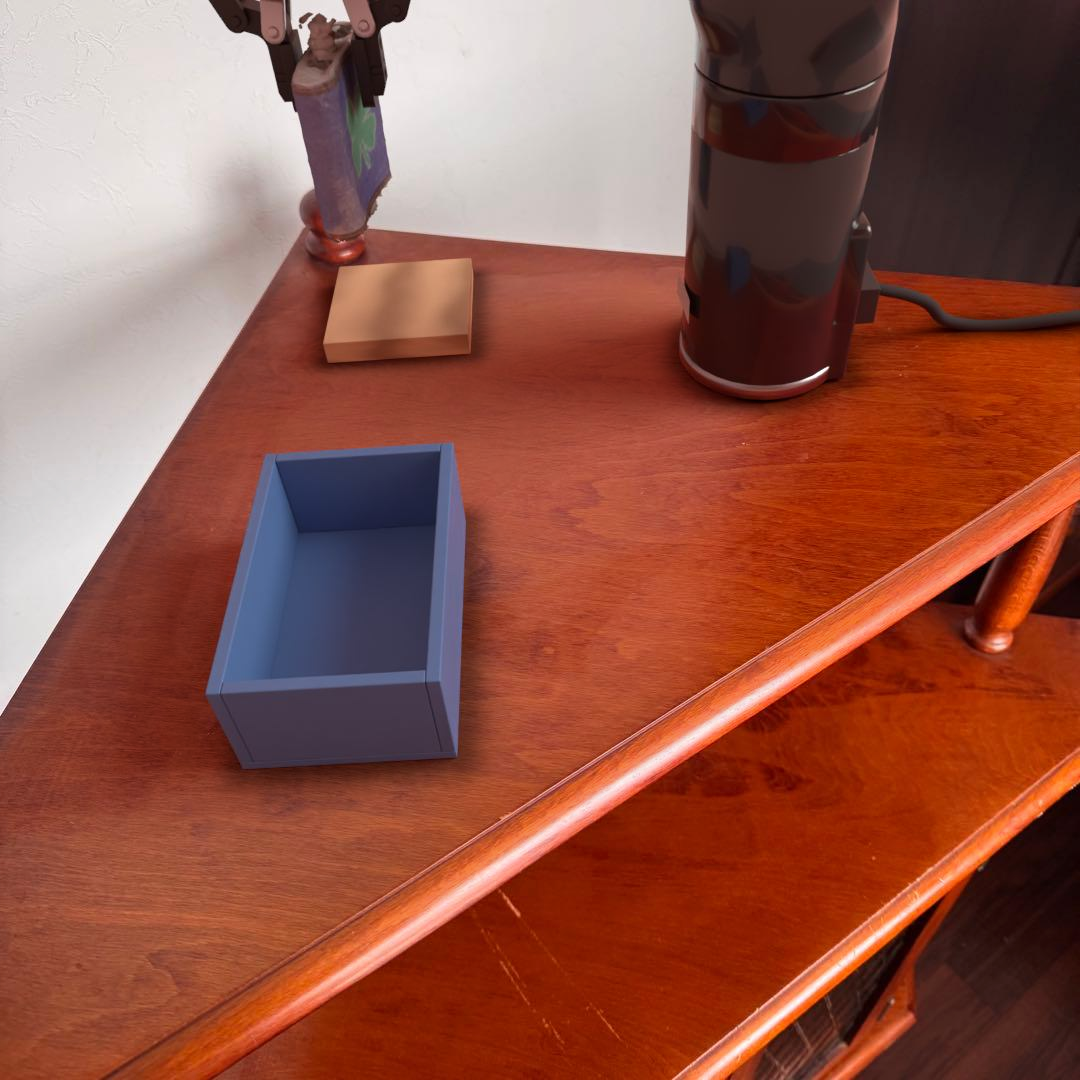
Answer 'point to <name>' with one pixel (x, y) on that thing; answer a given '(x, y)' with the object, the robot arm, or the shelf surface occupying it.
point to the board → (400, 311)
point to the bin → (346, 611)
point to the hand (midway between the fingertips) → (337, 102)
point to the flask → (339, 131)
